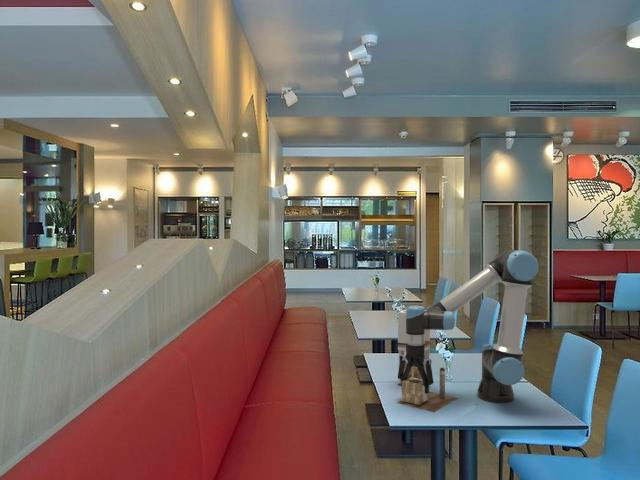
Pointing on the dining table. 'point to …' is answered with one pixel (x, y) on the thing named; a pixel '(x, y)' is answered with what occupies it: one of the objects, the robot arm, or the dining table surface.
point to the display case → (402, 343)
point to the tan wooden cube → (413, 391)
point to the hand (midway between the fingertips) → (415, 398)
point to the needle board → (434, 397)
